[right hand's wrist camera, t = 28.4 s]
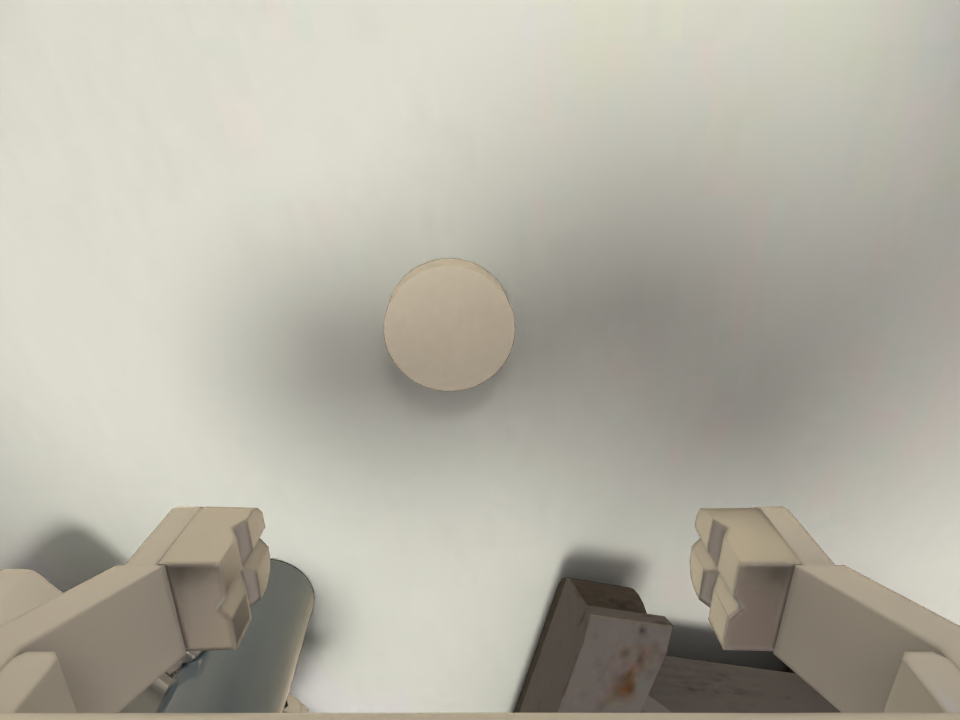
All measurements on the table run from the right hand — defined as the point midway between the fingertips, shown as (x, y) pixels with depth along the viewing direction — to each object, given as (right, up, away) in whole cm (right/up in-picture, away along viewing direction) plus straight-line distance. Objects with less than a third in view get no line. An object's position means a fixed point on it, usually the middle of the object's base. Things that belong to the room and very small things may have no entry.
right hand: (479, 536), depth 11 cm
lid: (-1, +5, +14) cm, 15 cm away
